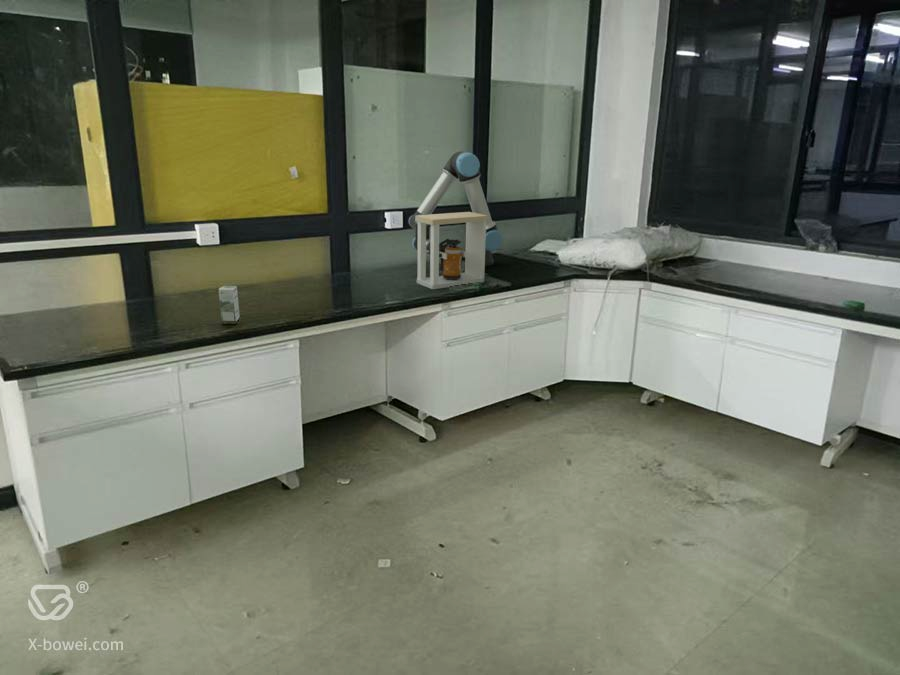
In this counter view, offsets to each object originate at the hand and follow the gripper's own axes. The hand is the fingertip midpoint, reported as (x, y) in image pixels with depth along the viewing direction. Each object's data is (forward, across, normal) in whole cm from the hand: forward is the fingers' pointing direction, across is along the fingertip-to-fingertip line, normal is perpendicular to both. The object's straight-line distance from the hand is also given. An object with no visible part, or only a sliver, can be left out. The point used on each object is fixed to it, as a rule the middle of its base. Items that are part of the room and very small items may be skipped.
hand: (455, 255), depth 312 cm
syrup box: (+9, +113, -15) cm, 114 cm away
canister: (-4, 0, -13) cm, 13 cm away
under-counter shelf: (-4, 0, -14) cm, 15 cm away
